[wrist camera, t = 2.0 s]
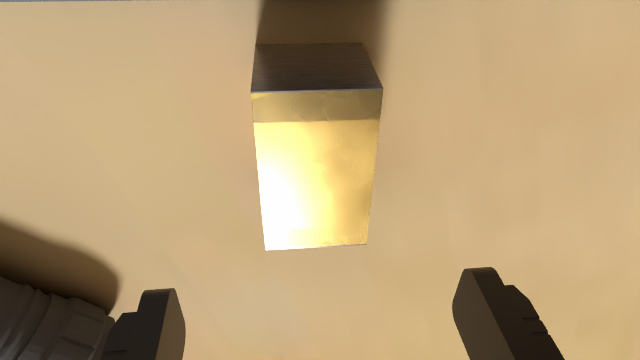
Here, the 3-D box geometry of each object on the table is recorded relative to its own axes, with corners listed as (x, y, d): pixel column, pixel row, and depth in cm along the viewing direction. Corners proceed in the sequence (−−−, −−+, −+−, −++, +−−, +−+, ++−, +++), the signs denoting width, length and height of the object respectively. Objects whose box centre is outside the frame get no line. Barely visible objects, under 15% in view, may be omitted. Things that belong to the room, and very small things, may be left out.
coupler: (255, 44, 18) (250, 91, 14) (361, 42, 18) (383, 88, 15) (267, 187, 22) (265, 250, 19) (351, 183, 23) (366, 244, 19)
